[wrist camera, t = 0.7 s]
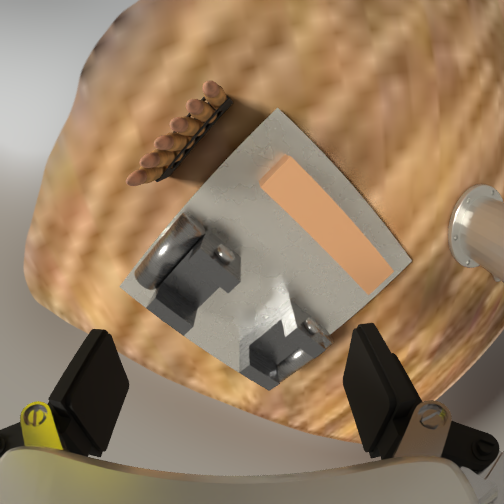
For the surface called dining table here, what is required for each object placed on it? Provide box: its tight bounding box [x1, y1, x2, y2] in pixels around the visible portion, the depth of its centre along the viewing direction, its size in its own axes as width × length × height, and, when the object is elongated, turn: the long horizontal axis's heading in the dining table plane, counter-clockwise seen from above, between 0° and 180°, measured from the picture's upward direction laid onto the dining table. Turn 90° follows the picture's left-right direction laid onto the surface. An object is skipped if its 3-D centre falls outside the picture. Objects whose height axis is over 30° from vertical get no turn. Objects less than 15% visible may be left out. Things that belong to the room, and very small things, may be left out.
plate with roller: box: [120, 108, 412, 391], centre depth 32 cm, size 25×28×7 cm
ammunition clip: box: [126, 81, 233, 186], centre depth 24 cm, size 11×2×12 cm, turn 138°
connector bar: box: [259, 154, 394, 295], centre depth 30 cm, size 17×4×4 cm, turn 46°
